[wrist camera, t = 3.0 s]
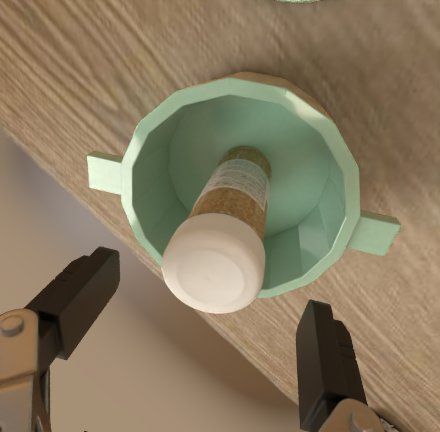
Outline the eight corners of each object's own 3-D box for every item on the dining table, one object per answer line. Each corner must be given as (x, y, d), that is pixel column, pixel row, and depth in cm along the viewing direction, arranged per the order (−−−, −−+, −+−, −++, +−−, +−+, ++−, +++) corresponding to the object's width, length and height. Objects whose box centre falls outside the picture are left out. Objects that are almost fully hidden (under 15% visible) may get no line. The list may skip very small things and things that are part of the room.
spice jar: (248, 206, 25) (220, 332, 14) (207, 174, 25) (140, 279, 13) (284, 167, 23) (286, 280, 12) (239, 131, 22) (194, 213, 11)
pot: (132, 49, 21) (69, 46, 15) (410, 101, 20) (470, 123, 13) (131, 217, 29) (89, 262, 22) (334, 265, 27) (350, 329, 21)
